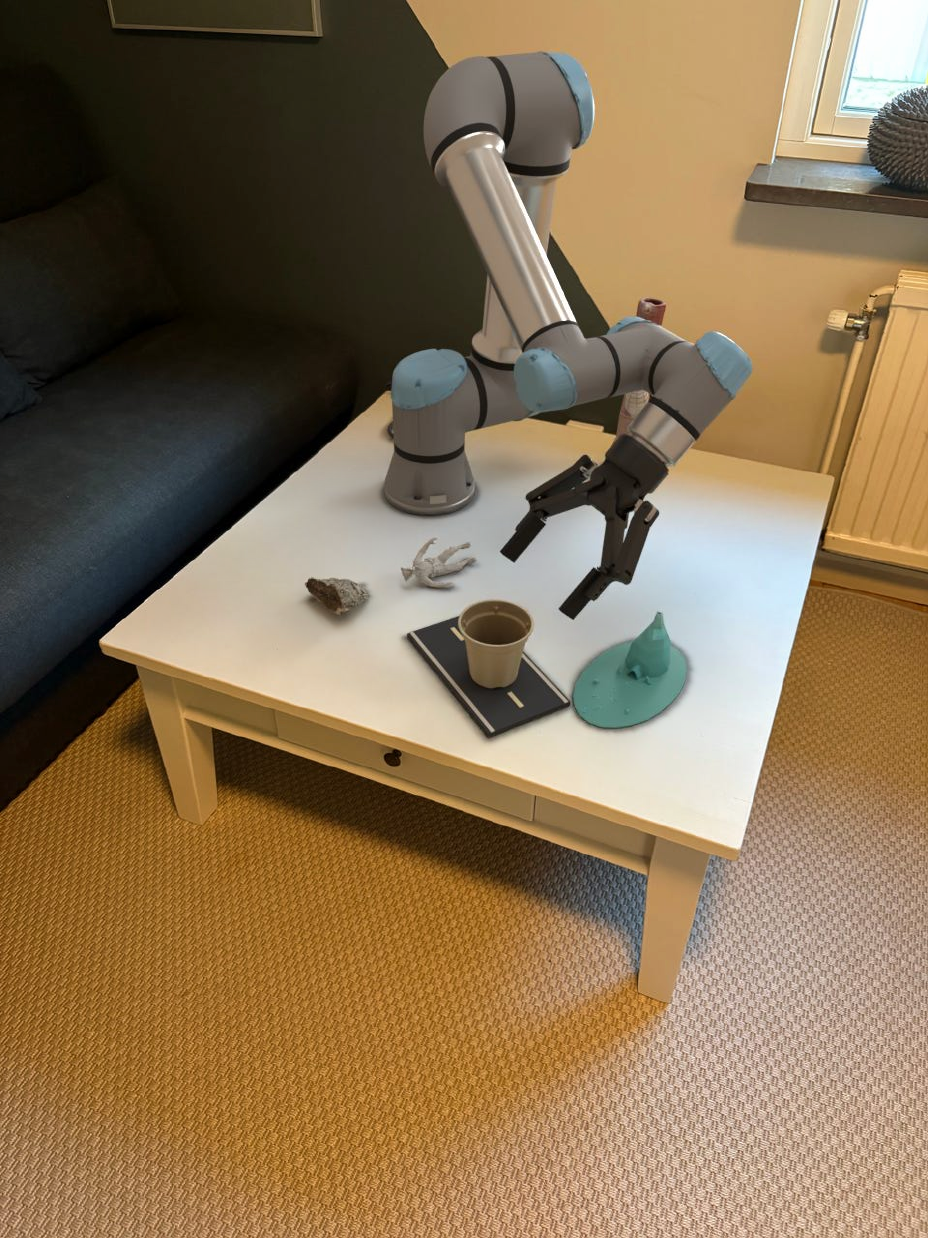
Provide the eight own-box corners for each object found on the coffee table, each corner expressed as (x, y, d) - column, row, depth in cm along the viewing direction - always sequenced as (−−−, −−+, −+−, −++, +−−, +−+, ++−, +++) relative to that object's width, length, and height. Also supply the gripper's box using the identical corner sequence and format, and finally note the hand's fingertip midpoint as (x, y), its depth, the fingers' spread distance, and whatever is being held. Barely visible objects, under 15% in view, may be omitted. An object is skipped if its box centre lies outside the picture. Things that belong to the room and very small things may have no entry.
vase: (633, 486, 164) (657, 314, 145) (595, 474, 167) (614, 305, 148) (658, 461, 171) (684, 295, 152) (621, 450, 174) (642, 286, 155)
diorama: (548, 701, 121) (553, 649, 115) (630, 627, 133) (638, 577, 128) (630, 746, 115) (640, 693, 109) (709, 663, 127) (720, 612, 122)
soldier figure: (484, 578, 143) (431, 590, 134) (462, 589, 146) (408, 601, 137) (466, 530, 144) (412, 539, 135) (445, 542, 147) (390, 551, 138)
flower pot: (523, 703, 119) (527, 650, 114) (450, 692, 120) (451, 639, 115) (534, 656, 126) (538, 604, 121) (465, 646, 128) (466, 594, 122)
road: (406, 637, 130) (406, 632, 130) (482, 612, 135) (482, 607, 134) (488, 738, 115) (488, 733, 115) (570, 705, 120) (570, 700, 119)
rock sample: (393, 576, 135) (345, 554, 129) (377, 627, 133) (329, 607, 128) (350, 575, 142) (303, 554, 137) (335, 624, 141) (287, 604, 135)
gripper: (730, 512, 109) (609, 652, 112) (602, 423, 126) (501, 547, 129) (702, 483, 103) (576, 630, 107) (573, 394, 120) (467, 524, 124)
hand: (534, 585), depth 118 cm, fingers open, 13 cm apart
